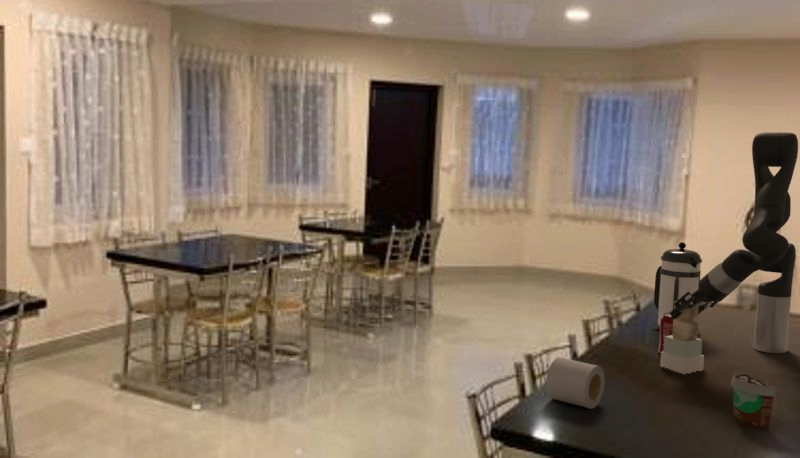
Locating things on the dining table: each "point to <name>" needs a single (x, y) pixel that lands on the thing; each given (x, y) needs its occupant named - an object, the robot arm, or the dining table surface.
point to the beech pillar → (686, 324)
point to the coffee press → (676, 278)
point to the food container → (752, 401)
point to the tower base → (682, 363)
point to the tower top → (682, 347)
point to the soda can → (665, 329)
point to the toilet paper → (575, 382)
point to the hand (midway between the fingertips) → (682, 315)
